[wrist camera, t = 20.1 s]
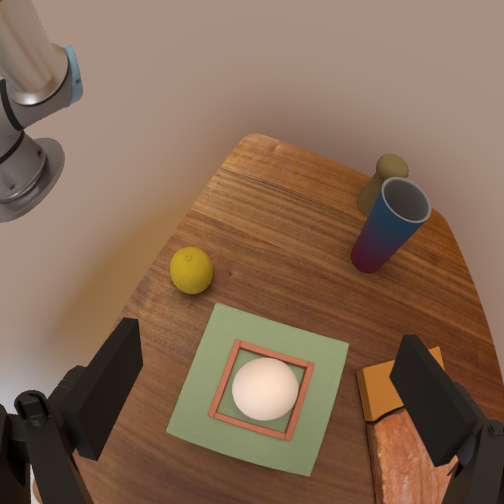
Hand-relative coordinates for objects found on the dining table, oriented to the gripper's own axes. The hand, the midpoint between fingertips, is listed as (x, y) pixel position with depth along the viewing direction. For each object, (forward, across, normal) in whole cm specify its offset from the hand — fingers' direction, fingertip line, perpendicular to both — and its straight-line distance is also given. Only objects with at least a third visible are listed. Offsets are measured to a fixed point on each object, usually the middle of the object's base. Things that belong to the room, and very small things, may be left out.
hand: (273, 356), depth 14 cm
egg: (+10, +1, -11) cm, 15 cm away
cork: (+40, +19, +3) cm, 44 cm away
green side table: (+17, +1, -19) cm, 26 cm away
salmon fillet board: (+10, +23, -26) cm, 36 cm away
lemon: (+28, -9, -8) cm, 30 cm away
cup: (+32, +16, -4) cm, 36 cm away
